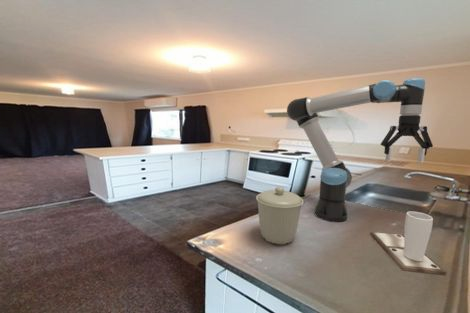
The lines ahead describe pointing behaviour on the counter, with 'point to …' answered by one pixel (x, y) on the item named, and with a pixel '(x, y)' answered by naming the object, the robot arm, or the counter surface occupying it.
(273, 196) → the canister
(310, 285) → the counter surface
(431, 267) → the coaster board
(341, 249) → the counter surface
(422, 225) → the white cup
